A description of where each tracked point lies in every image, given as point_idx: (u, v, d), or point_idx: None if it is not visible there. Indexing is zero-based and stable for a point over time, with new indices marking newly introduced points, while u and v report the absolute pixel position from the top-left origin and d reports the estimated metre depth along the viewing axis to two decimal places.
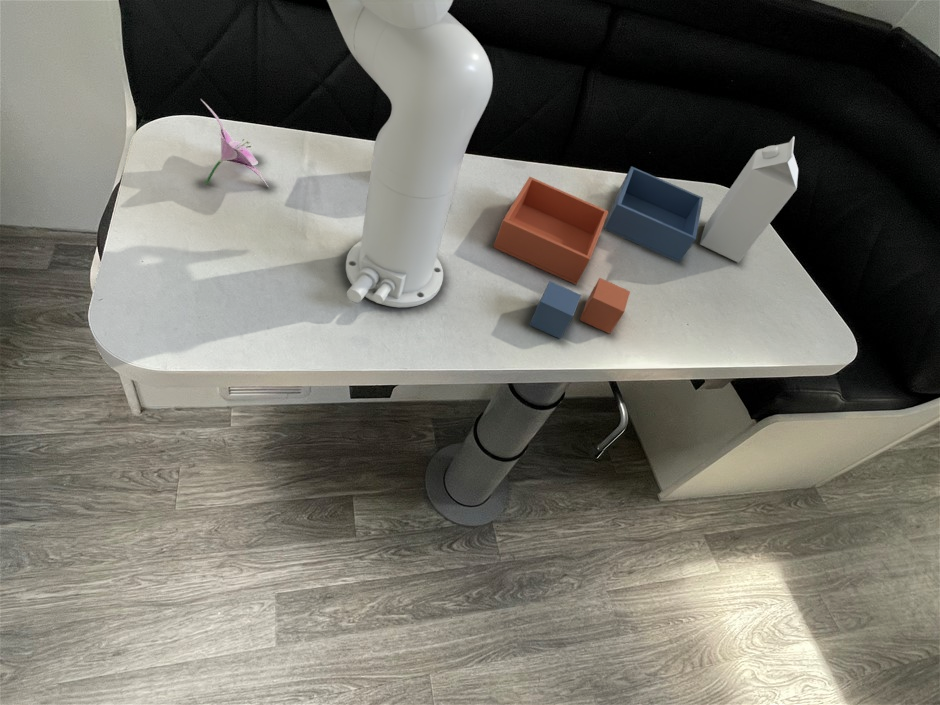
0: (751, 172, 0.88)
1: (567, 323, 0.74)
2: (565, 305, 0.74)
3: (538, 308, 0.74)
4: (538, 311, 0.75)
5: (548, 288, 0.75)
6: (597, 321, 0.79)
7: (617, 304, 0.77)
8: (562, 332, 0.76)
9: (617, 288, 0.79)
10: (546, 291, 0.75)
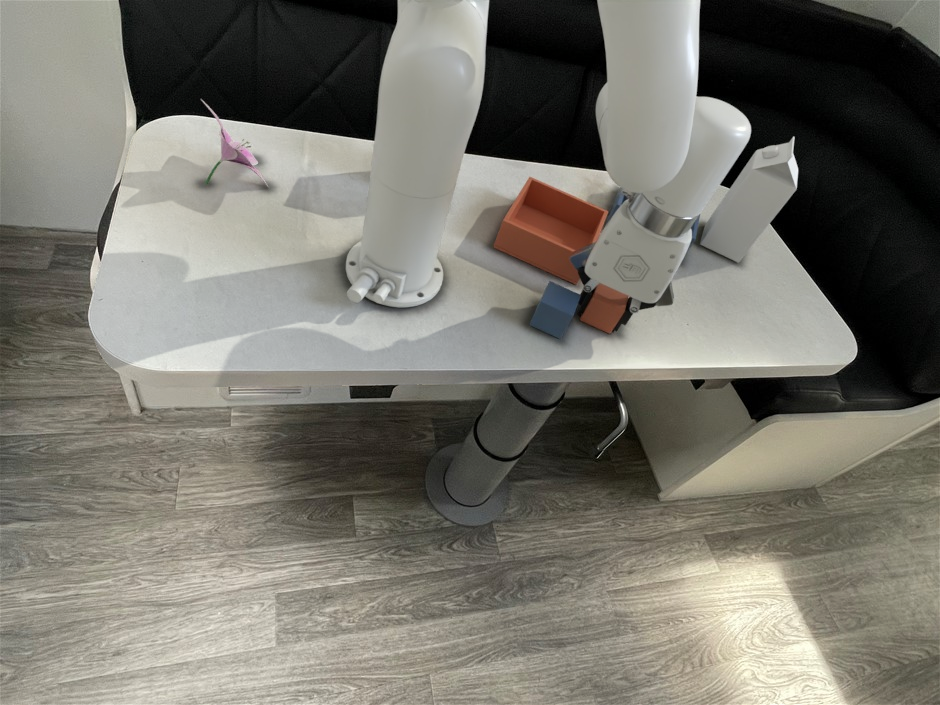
0: (751, 172, 0.88)
1: (567, 323, 0.74)
2: (565, 305, 0.74)
3: (538, 308, 0.74)
4: (538, 311, 0.75)
5: (548, 288, 0.75)
6: (597, 321, 0.79)
7: (617, 304, 0.77)
8: (562, 332, 0.76)
9: None
10: (546, 291, 0.75)
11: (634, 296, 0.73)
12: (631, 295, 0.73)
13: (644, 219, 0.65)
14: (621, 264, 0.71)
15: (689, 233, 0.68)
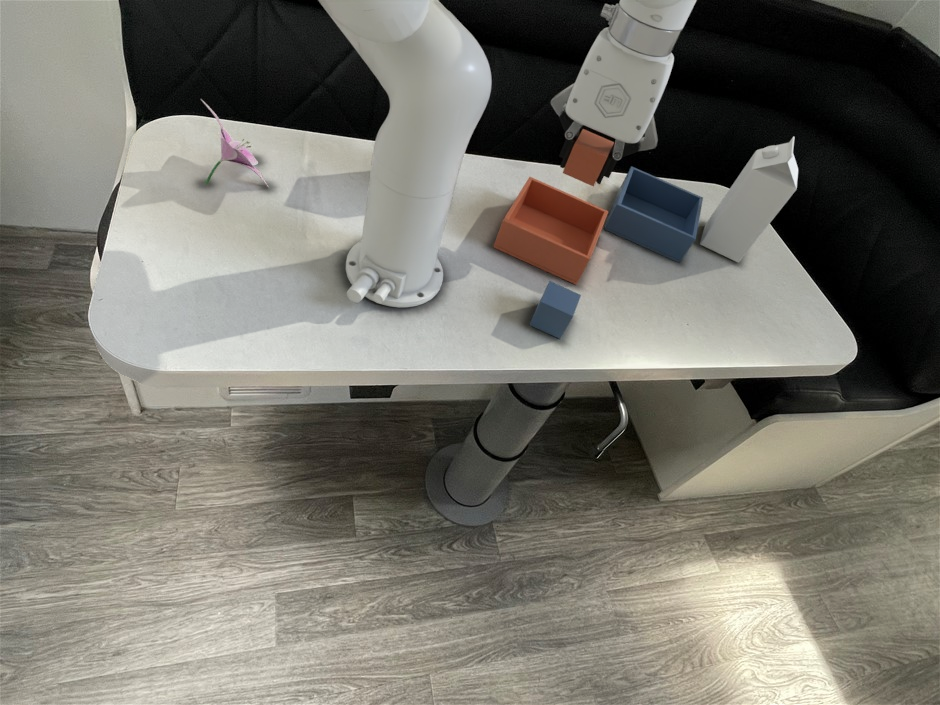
0: (751, 172, 0.88)
1: (567, 323, 0.74)
2: (565, 305, 0.74)
3: (538, 308, 0.74)
4: (538, 311, 0.75)
5: (548, 288, 0.75)
6: (580, 172, 0.77)
7: (600, 151, 0.75)
8: (562, 332, 0.76)
9: (600, 138, 0.77)
10: (546, 291, 0.75)
11: (616, 135, 0.72)
12: (613, 134, 0.72)
13: (623, 36, 0.64)
14: (602, 97, 0.69)
15: (671, 58, 0.66)
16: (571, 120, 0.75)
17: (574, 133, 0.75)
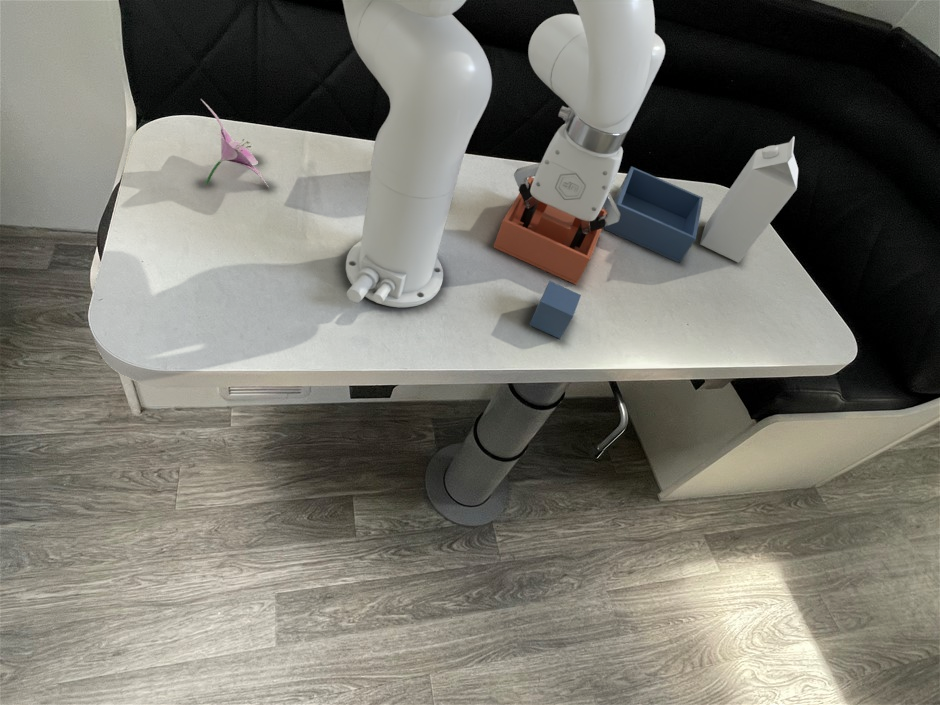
0: (751, 172, 0.88)
1: (567, 323, 0.74)
2: (565, 305, 0.74)
3: (538, 308, 0.74)
4: (538, 311, 0.75)
5: (548, 288, 0.75)
6: None
7: (564, 223, 0.84)
8: (562, 332, 0.76)
9: None
10: (546, 291, 0.75)
11: (574, 214, 0.81)
12: (572, 213, 0.81)
13: (577, 136, 0.73)
14: (561, 183, 0.79)
15: (620, 152, 0.76)
16: (529, 191, 0.84)
17: (532, 203, 0.84)
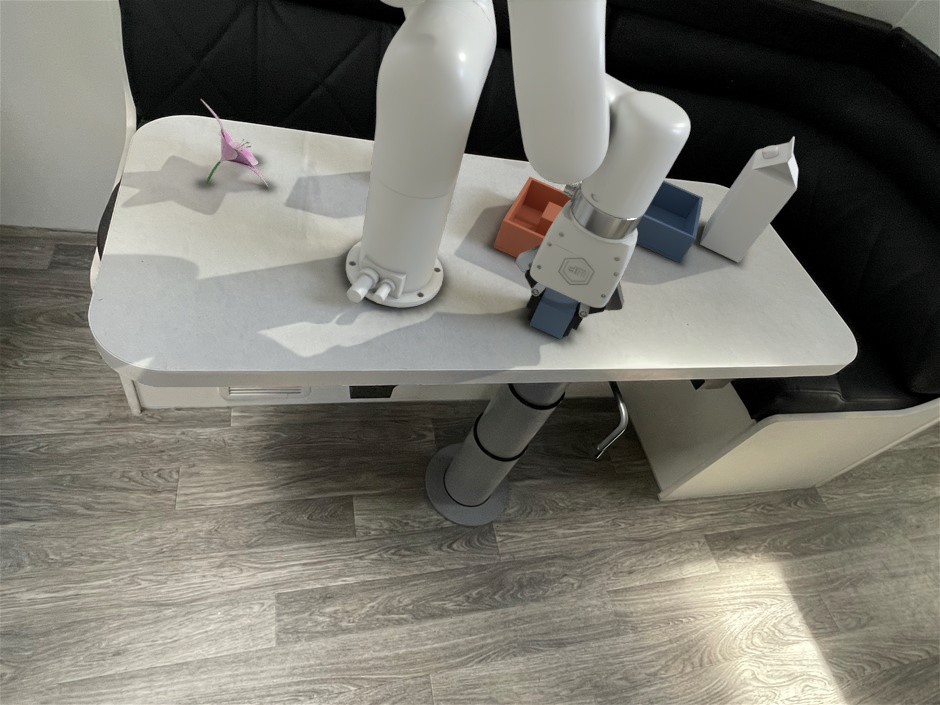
0: (751, 172, 0.88)
1: (567, 323, 0.74)
2: (565, 305, 0.74)
3: (538, 308, 0.74)
4: (538, 311, 0.75)
5: (548, 288, 0.75)
6: None
7: None
8: (562, 332, 0.76)
9: None
10: (546, 291, 0.75)
11: (581, 300, 0.70)
12: (578, 299, 0.70)
13: (585, 220, 0.62)
14: (566, 267, 0.68)
15: (634, 235, 0.65)
16: None
17: (540, 291, 0.74)
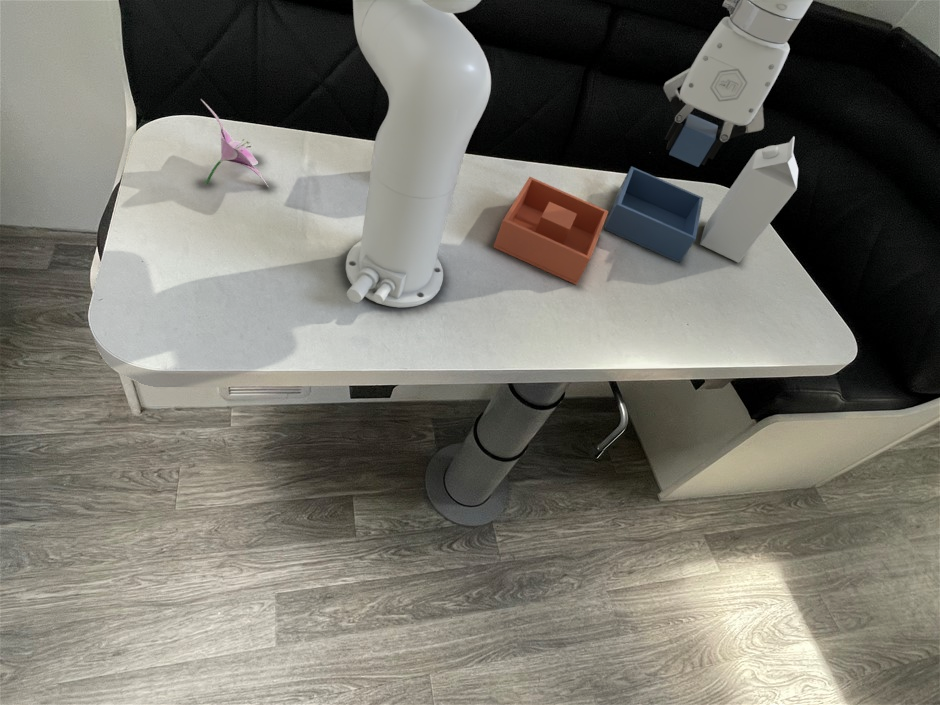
0: (751, 172, 0.88)
1: (708, 147, 0.81)
2: (706, 131, 0.81)
3: (681, 134, 0.81)
4: (681, 137, 0.81)
5: (689, 118, 0.82)
6: None
7: (564, 223, 0.84)
8: (701, 159, 0.82)
9: (564, 210, 0.87)
10: (688, 119, 0.81)
11: (728, 118, 0.77)
12: (725, 117, 0.77)
13: (748, 24, 0.69)
14: (718, 82, 0.75)
15: (787, 45, 0.72)
16: (681, 104, 0.80)
17: (684, 116, 0.80)
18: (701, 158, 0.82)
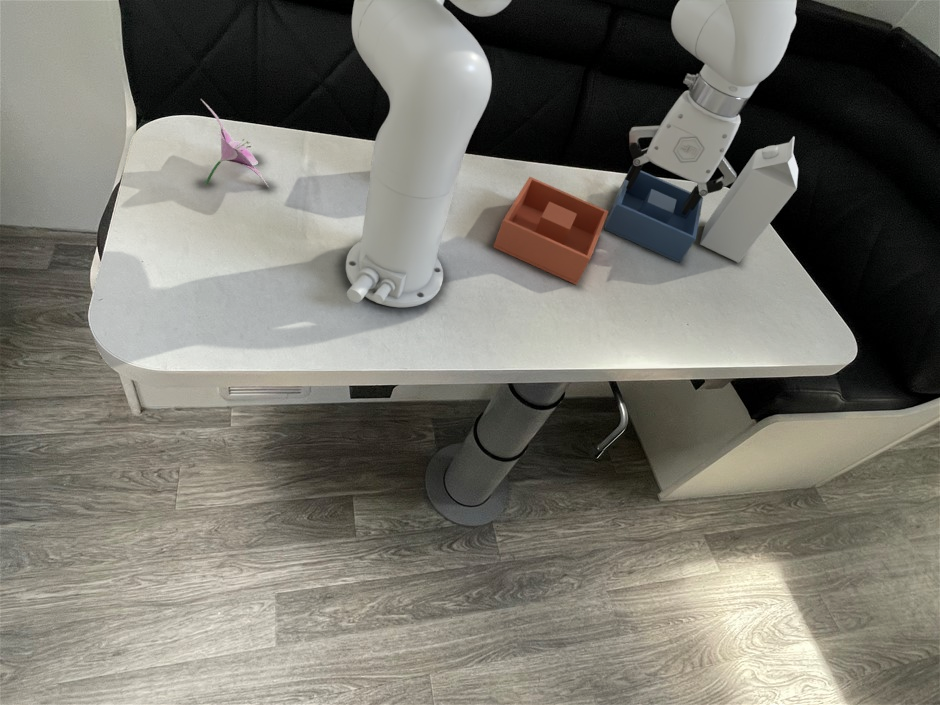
0: (751, 172, 0.88)
1: (667, 220, 0.95)
2: (666, 206, 0.94)
3: (644, 208, 0.95)
4: (644, 211, 0.95)
5: (651, 193, 0.96)
6: None
7: (564, 223, 0.84)
8: None
9: (564, 210, 0.87)
10: (650, 195, 0.95)
11: (688, 177, 0.87)
12: (686, 176, 0.87)
13: (704, 101, 0.79)
14: (680, 146, 0.85)
15: (738, 117, 0.82)
16: (639, 150, 0.90)
17: (641, 161, 0.90)
18: None
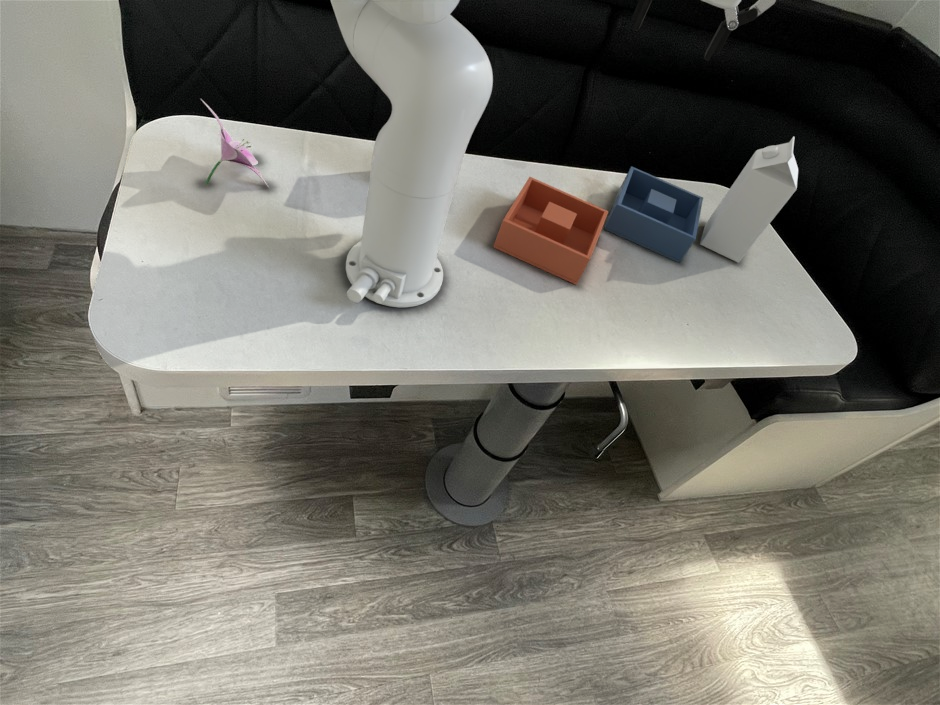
0: (751, 172, 0.88)
1: (667, 220, 0.95)
2: (666, 206, 0.94)
3: (644, 208, 0.95)
4: (644, 211, 0.95)
5: (651, 193, 0.96)
6: None
7: (564, 223, 0.84)
8: None
9: (564, 210, 0.87)
10: (650, 195, 0.95)
11: None
12: None
13: None
14: None
15: None
16: None
17: None
18: None
